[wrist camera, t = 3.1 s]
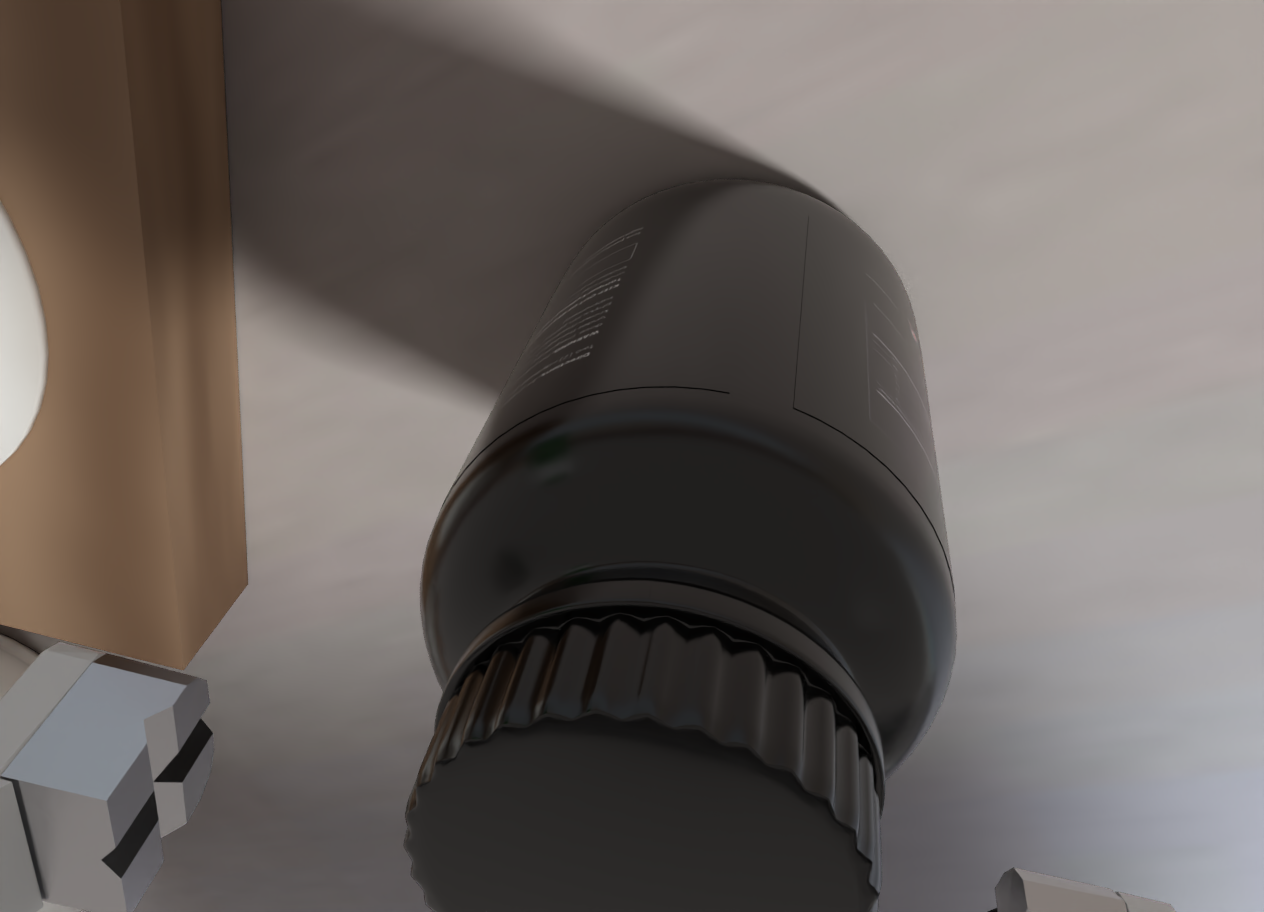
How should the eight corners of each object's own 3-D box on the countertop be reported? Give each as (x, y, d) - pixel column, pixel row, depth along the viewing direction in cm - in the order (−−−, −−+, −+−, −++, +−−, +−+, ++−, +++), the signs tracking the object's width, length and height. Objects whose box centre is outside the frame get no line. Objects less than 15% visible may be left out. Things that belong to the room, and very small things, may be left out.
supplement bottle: (617, 517, 23) (436, 1083, 13) (509, 215, 20) (163, 661, 10) (950, 468, 21) (1028, 1091, 11) (889, 123, 18) (922, 569, 8)
